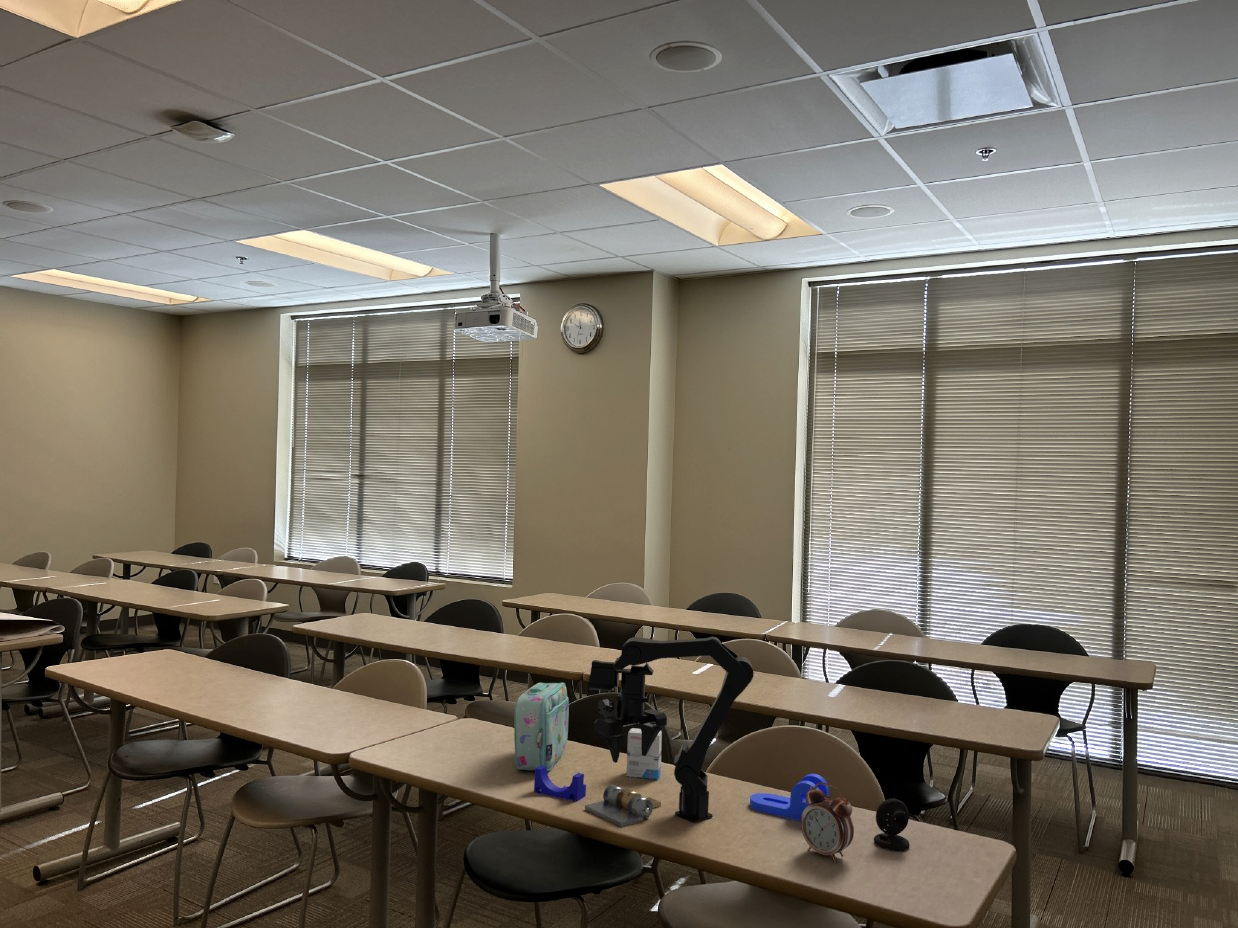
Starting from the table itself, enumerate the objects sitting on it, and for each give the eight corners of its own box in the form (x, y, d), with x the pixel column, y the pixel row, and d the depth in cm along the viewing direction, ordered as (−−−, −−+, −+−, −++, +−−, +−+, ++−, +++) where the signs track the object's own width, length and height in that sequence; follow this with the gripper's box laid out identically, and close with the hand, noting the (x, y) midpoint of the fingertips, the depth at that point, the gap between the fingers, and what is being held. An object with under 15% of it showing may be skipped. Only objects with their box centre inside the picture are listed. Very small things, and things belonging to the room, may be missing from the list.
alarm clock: (797, 850, 186) (800, 779, 187) (810, 844, 190) (813, 774, 190) (843, 867, 179) (845, 793, 179) (855, 860, 182) (857, 788, 182)
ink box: (661, 774, 233) (663, 730, 233) (657, 780, 228) (659, 735, 228) (629, 770, 235) (631, 726, 235) (625, 776, 230) (627, 731, 230)
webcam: (885, 853, 187) (887, 805, 187) (866, 839, 194) (867, 793, 194) (917, 850, 189) (918, 803, 189) (896, 837, 196) (898, 792, 197)
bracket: (828, 814, 209) (829, 776, 209) (818, 825, 202) (820, 786, 202) (756, 799, 218) (757, 762, 218) (744, 808, 210) (746, 771, 211)
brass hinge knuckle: (660, 806, 209) (661, 787, 209) (628, 814, 202) (629, 795, 202) (649, 801, 212) (650, 782, 212) (616, 809, 205) (617, 790, 205)
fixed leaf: (655, 818, 201) (656, 798, 201) (623, 827, 194) (624, 807, 194) (614, 800, 212) (615, 781, 212) (583, 808, 205) (583, 789, 205)
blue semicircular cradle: (585, 796, 214) (586, 772, 214) (576, 802, 210) (578, 777, 210) (543, 787, 219) (544, 763, 219) (533, 792, 215) (535, 768, 215)
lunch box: (547, 779, 225) (551, 695, 226) (509, 775, 226) (513, 692, 227) (569, 750, 251) (573, 675, 252) (535, 747, 253) (538, 672, 254)
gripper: (638, 681, 219) (635, 744, 218) (580, 689, 206) (577, 756, 206) (669, 690, 210) (666, 755, 210) (611, 699, 198) (608, 769, 197)
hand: (629, 758), depth 206 cm, fingers open, 9 cm apart
